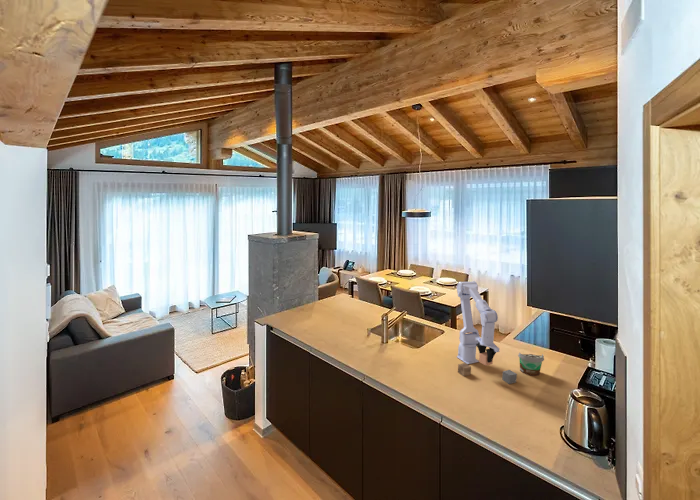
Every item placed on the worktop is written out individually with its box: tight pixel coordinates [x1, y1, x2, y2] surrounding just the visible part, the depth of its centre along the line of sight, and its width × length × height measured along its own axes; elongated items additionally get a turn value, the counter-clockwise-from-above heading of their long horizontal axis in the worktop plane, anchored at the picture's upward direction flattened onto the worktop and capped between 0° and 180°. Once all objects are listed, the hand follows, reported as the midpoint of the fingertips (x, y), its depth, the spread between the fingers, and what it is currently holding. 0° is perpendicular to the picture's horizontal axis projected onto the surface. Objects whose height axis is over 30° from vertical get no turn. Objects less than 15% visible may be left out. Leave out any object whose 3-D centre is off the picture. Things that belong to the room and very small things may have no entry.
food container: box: [517, 352, 545, 377], centre depth 180 cm, size 12×6×10 cm, turn 81°
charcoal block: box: [501, 369, 518, 385], centre depth 174 cm, size 4×4×4 cm
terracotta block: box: [478, 351, 494, 366], centre depth 177 cm, size 4×4×4 cm
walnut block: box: [457, 362, 472, 377], centre depth 181 cm, size 4×4×4 cm
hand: (485, 359), depth 177 cm, fingers closed on terracotta block, 4 cm apart
